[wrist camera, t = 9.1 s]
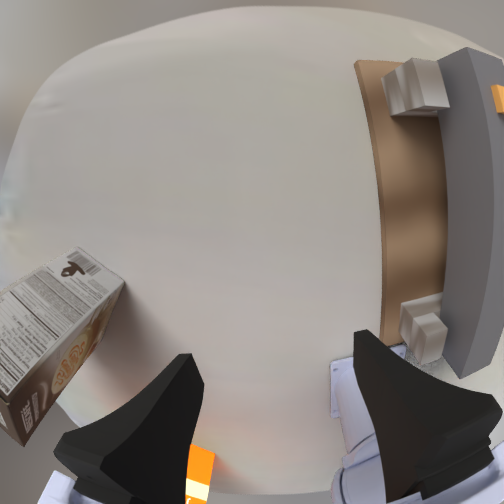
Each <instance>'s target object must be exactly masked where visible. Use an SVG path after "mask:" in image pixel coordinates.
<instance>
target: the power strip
mask: <svg viewBox="0 0 504 504" xmlns="http://www.w3.org/2000/svg"><path fill="white" fill-rule="evenodd" d="M435 62H438V65H439V68H440V71H441V75H442V78H443V82H444V85H445V89H446V93H447V97H448V101H449V106H450V108H445V109H440V110H437V114H438V119H439V124H440V130H441V136H442V142H443V150H444V158H445V167H446V179H447V196H448V243H447V260H446V272H445V282H444V290H443V297H442V304H441V310H440V316H439V319H440V320H441V321H442V323H443V324H444V325H445V326H446V327H447V328H448V331H447V336H446V340H445V344H444V348H443V351H442V355H443V357H444V358H445V359H446V361H447V362H448V364H449V365H450V366H451V368H452V369H453V371H454V372H455V374H456V375H457V376H458V378H459V379H462V378H464V377H466V376H468V375H470V374H472V373H474V372H476V371H478V370H480V369H482V368H484V367H486V366H488V365H489V364H490V363H491V361H492V358H493V356H494V353H495V351H496V348H497V345H498V342H499V339H500V337H501V334H502V331H503V327H504V65H503V62H502V60H501V59H498V58H496V57H493V56H491V55H488V54H486V53H483V52H480V51H477V50H474V49H471V48H468V47H465V48H463V49H461V50H459V51H456V52H454V53H452V54H450V55H448V56H446V57H444V58H442V59H440V60H437V61H435Z"/></svg>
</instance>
